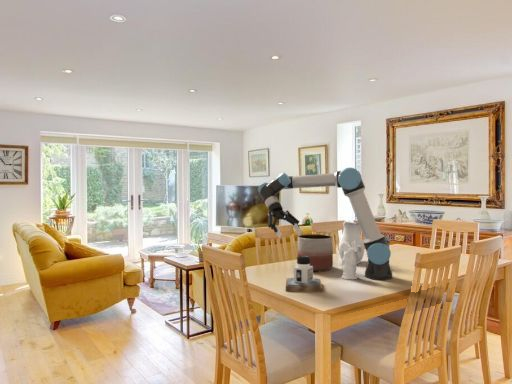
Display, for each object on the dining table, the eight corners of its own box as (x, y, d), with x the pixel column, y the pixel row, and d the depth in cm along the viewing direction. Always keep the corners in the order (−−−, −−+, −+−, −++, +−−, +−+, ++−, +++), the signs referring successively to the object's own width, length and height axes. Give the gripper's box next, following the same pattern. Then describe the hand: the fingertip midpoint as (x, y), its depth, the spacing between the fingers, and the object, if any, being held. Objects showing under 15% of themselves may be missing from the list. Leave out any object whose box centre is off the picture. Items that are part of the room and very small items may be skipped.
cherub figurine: (337, 276, 228) (337, 238, 227) (355, 274, 232) (355, 237, 232) (349, 281, 216) (349, 240, 216) (368, 279, 221) (368, 239, 220)
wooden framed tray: (320, 283, 211) (320, 278, 211) (322, 291, 196) (322, 285, 195) (286, 282, 213) (286, 277, 213) (285, 291, 197) (285, 285, 197)
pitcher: (367, 264, 259) (367, 222, 258) (341, 264, 259) (341, 222, 258) (358, 257, 282) (358, 218, 282) (334, 257, 283) (334, 218, 282)
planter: (291, 269, 245) (291, 237, 244) (304, 263, 264) (304, 233, 264) (326, 273, 234) (326, 239, 234) (337, 266, 254) (337, 235, 253)
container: (307, 284, 199) (307, 258, 199) (293, 282, 203) (293, 256, 203) (313, 280, 206) (313, 255, 206) (299, 278, 210) (299, 254, 209)
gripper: (288, 209, 234) (305, 237, 222) (252, 211, 220) (268, 241, 208) (293, 200, 229) (311, 229, 218) (258, 202, 215) (274, 233, 204)
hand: (290, 235), depth 213 cm, fingers open, 13 cm apart
